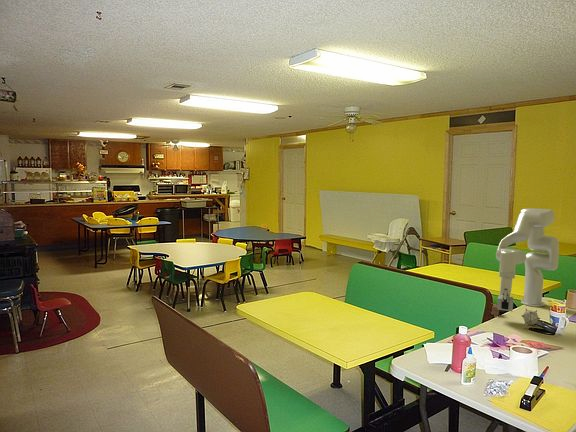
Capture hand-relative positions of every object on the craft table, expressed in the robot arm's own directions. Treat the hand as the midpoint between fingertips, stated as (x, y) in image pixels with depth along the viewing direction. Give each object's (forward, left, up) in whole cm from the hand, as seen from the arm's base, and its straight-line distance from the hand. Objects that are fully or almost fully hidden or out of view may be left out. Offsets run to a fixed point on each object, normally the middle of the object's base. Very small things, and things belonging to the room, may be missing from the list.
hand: (505, 306), depth 225 cm
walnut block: (-10, -6, -8) cm, 14 cm away
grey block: (0, 0, -1) cm, 1 cm away
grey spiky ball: (0, +12, -8) cm, 14 cm away
